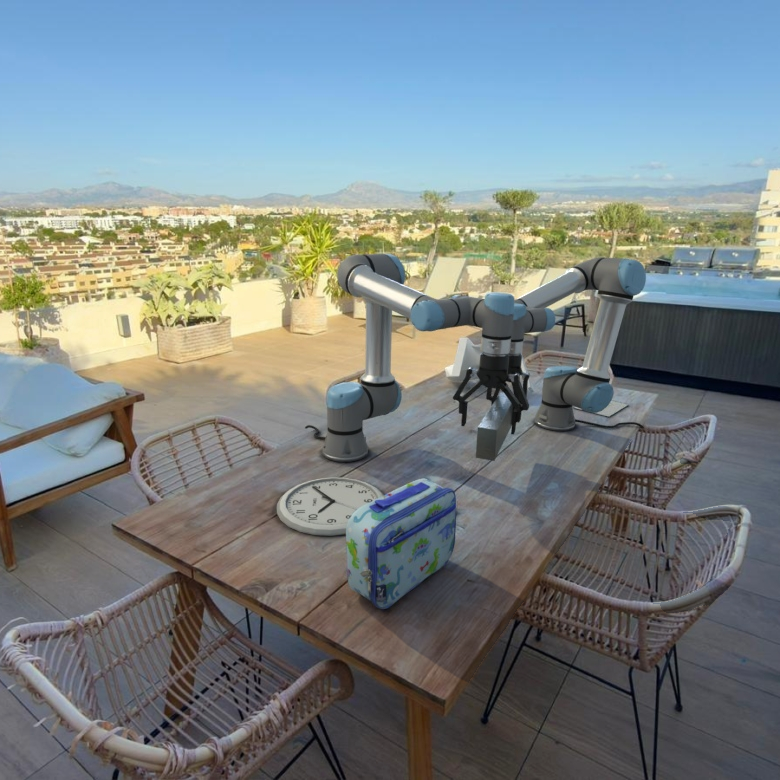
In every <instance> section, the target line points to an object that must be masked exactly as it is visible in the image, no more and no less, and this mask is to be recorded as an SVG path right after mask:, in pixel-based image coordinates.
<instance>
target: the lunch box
mask: <svg viewBox="0 0 780 780" xmlns="http://www.w3.org/2000/svg"><path fill="white" fill-rule="evenodd" d="M456 498H457V496H456V493H455V491H454V489H452V488H450V487H443V486H441V485H439V484H438V483H436V482H433V481H432V480H430V479H427V478H423V477H422V478H418V479H416V480H413V481H411V482H409V483H406V484H405V485H402V486H400V487H398V488H396V489H394V490H392V491H390V492H388V493H386V494H384V496H382V497H380V498H378V499H376V500H374V501H372V502H370V503H368V504H366V505H364V506H362V507H360V508H358V509H357V510H356V511H355V512H354V513H353V514H352V515H351V517H350V519H349V521H348V524H347V528H346V534H345V547H346V549H345V550H346V572H347V573H346V575H347V584H348V587H349V589H350V590H351V591H353V592H355V593H357V594H358V595H361V596H363V597H364V598H365V599H367V600H368V601H369V602H371V604H372V605H373V606H374V607H376V608H377V609H380V610H386V609H389V608H391V607H393V605H395V603H397V602H398V601H399V600H400V599H402V598H403V597H404V596H405V595H408V593H410V592H411V591H412V590H413V589H415V588H416V587H417V586H419V585H420V584H421V583H423V581H424V580H425V579H427V578H428V577H430V576H431V575H433V574H435V573H437V572H438V571H439V570H441V569H442V568H443V567H444V566H446V564H447V563H448V562H449V560H450V559H451V556H452V555H453V552H454V548H455V544H456V531H457V530H456V529H457V508H456V505H457V499H456Z"/></svg>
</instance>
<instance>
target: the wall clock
mask: <svg viewBox="0 0 780 780" xmlns="http://www.w3.org/2000/svg"><path fill="white" fill-rule="evenodd" d="M384 495H385V494H384V493H383V492H382V491H381V490H380V489H379V488H377V487H376V486H374V485H372V484H371V483H369V482H365V481H362V480H359V479H355V478H349V477H338V476H337V477H335V476H333V477H332V476H331V477H322V478H317V479H312V480H307V481H305V482H302V483H299V484H297V485H295V486H293V487H292V488H290V489H288V490H287V491H286V492H285V493H284V494H283V495H281V496H280V498H279V499H278V502H277V503H276V515H277V517H278V518H279V520H280V521H281V522H282V523H283V524H285V525H286V526H287V527H288V528H290V529H293V530H295V531H297V532H299V533H303V534H308V535H312V536H327V537H328V536H329V537H331V536H332V537H333V536H342V535H346V528H347V524H348V521H349V519H350V517H351V515H352V514H353V513H354V512H355V511H356V510H357V509H358V508H360V507H362V506H364V505H366V504H368V503H370V502H372V501H374V500H376V499H378V498H380V497H382V496H384Z"/></svg>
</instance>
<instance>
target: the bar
mask: <svg viewBox="0 0 780 780" xmlns="http://www.w3.org/2000/svg"><path fill="white" fill-rule="evenodd" d="M512 417H513V405H512V403H511V402H510V400H509V399H508V398H507V396H506V395H505V393H504V392H503V391H499V394H498V396H497V399H496V400H495V402H494V403H493V405H492V406H491V405H490V408H489V409H488V411H487V412H486V414H485V415H484V417H483V418H482V420H481V421H480V423H479V425H478V426H477V429H476V430H477V432H476V444H475V445H476V447H475V458H476V459H480V460H486V461H492V462H495V461H496V459H497V457H498V455H499V453H500V451H501V448H502V447H503V444H504V443H505V441H506V438H507V436H508V434H509V432H510V430H511V429H512Z"/></svg>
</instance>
